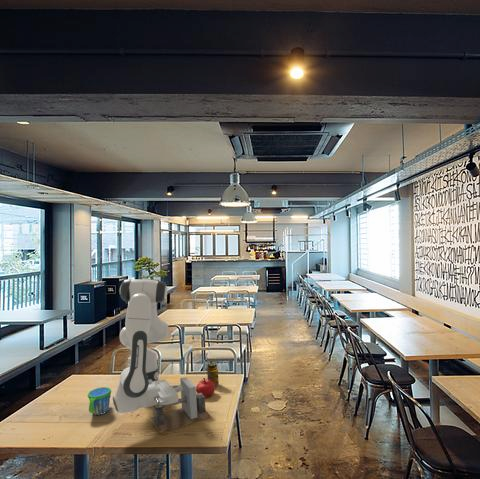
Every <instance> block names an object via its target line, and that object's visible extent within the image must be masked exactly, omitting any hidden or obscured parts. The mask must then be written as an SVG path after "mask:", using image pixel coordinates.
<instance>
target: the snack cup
mask: <svg viewBox="0 0 480 479" xmlns="http://www.w3.org/2000/svg"><path fill="white" fill-rule="evenodd" d="M111 393H112V388H111V387H105V386H104V387H103V386H102V387H96V388H94V389H92V390H90V391H89V392H87V398H88V399H89V406H88V412H89V413H90V414H93V413H94V414H101V413H104V412H106V411H107V412H108V411H109V410H108V409H110V402H111V401H110V398H111V396H112V395H111ZM107 412H106V413H107ZM94 414H93V415H94Z"/></svg>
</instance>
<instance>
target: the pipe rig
mask: <svg viewBox="0 0 480 479" xmlns="http://www.w3.org/2000/svg"><path fill="white" fill-rule="evenodd" d="M196 401H197V418H194V419H190V417H189V416H188V415H187V414H186V412H185V411H184V410H183V408H182V407H181V408H178V409H175V410H174V409H173V410H172V411H168V412H164V409H165V408H169V407H172V406H176V405H179V404H180V405H181V404H182V403H184V402H187V397H184V398H178V402H176V403H172V404H168V405H161V404H160V403H158V404H157V405H154V406H152V407H153V416H151V417H150V421H151V422H152V424H153V426H154V427H155V430H156V431H157V433H158V434H162V433H164V432H168V431H171V430H174V429H178V428H181V427H184V426H186V425H187V426H188V425H190V424H191V425H192V424H193V423H194V424H195V423H197V422H201V421H203V420H206V419H210V418H211V414H210V413H209V412H208V411H207V410H206V397H205V396H204V395H203V394H202V393H199V394H197V393H196Z"/></svg>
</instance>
